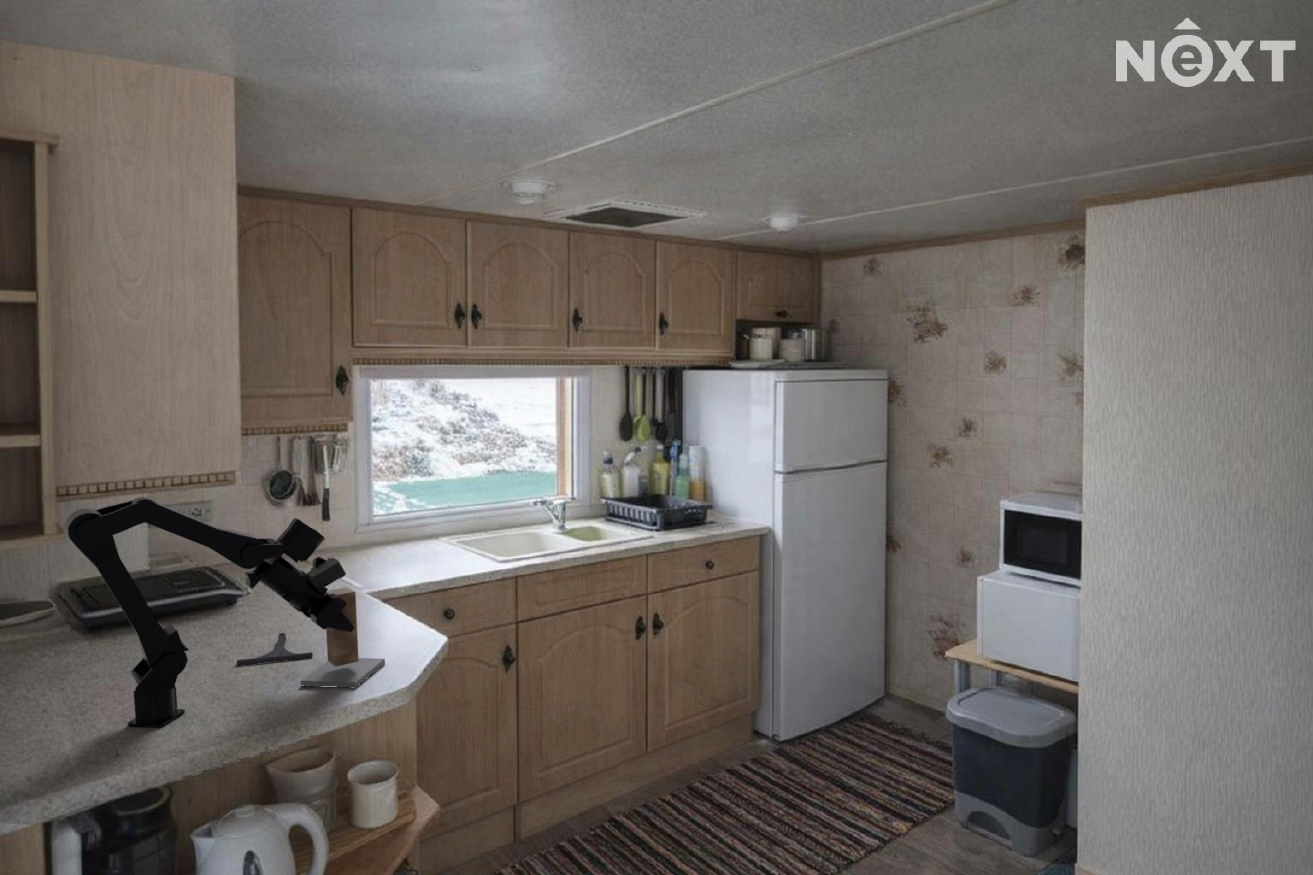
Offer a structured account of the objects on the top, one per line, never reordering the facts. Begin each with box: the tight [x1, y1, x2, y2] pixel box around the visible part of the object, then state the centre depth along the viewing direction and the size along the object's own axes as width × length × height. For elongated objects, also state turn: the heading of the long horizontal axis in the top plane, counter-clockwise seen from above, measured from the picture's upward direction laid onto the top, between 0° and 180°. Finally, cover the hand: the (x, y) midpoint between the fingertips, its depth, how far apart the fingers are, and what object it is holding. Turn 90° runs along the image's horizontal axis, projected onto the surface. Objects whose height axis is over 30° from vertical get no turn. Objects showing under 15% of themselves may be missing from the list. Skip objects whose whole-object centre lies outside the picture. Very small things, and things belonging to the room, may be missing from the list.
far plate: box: [300, 657, 386, 689], centre depth 172 cm, size 13×11×1 cm
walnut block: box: [325, 587, 359, 667], centre depth 171 cm, size 4×4×14 cm
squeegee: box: [236, 632, 314, 667], centre depth 187 cm, size 14×15×3 cm
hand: (348, 626), depth 172 cm, fingers closed on walnut block, 4 cm apart
